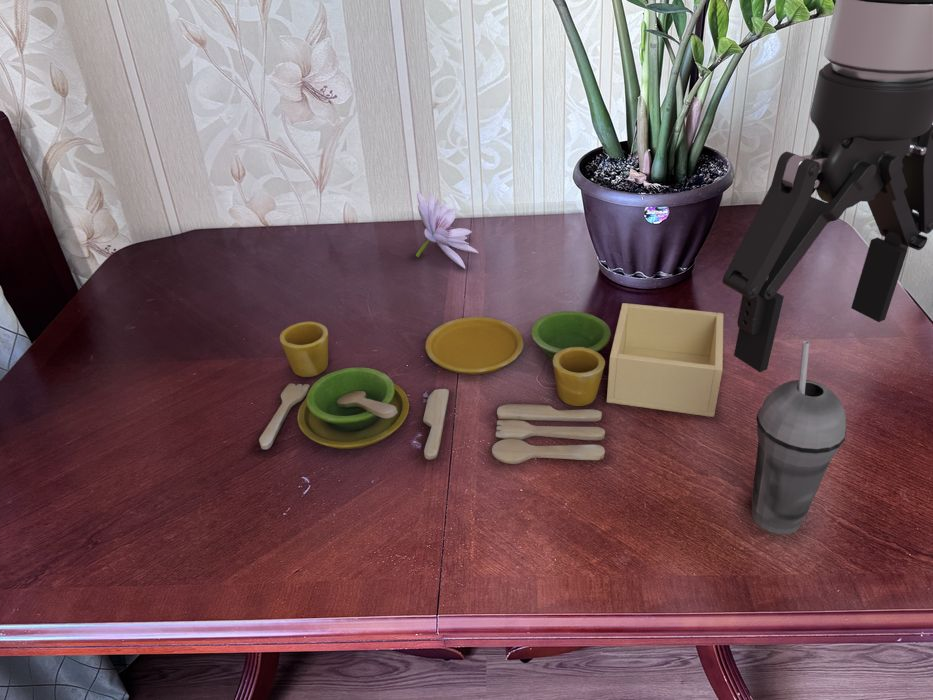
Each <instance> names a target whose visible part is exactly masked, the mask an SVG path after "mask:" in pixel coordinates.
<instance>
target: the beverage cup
mask: <svg viewBox="0 0 933 700" xmlns="http://www.w3.org/2000/svg"><path fill="white" fill-rule="evenodd" d="M809 353H810V341H809V340H804V341H802V344H801V357H800V364H799V365H800V366H799V376H798V379H795V380H791V381H786V382H784V383H782V384H779V385H778V386H777V387H775V388H774V389H773V390H772V391H771V392H770V393H768V395H766V397H765V398H764V400H763V402H762V404H761V407H760V408H759V409H758V411H757V415H756V417H755V419H756V432H757V433H756V435H757V440H758V441H757V447H756V457H755V466H754V474H753V484H752V492H751V493H752V494H751V511H750V514H751V518H752V519H753V521H754V522H755V523H756V525H758V527H760V528H761V529H763V530H765V531H767V532H769V533H772V534H775V535H791V534H793V533H795V532H797V531H798V530H799V529H800V527H801V526H802V523H803V521H804V520H805V518H806V517H807V514H808V512H809V510H810V508H811V506H812V503H813V501H814V499H815V496H816V494H817V492H818V489H819V487H820V486H821V483H822V481H823V478H824V476H825V474H826V472H827V469H828V467H829V466H830V464H831V460H832V459H833V458H834V457H835V456H836V454H837V452H838V451H839V449H840V448H841V446H842V445H843V444H844V442H845V441H846V437H847V428H846V427H847V415H846V411H845V409H844V406H843V404H842V401H841V400H840V398H839V397H838V396H837V394H836V393H835V392H834V391H833V390H831V389H830V388H828V387H827V386H826V385H824V384H822V383H820V382H817V381H814V380H810V379H807V374H808V373H807V371H808V362H809Z"/></svg>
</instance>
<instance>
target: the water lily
mask: <svg viewBox="0 0 933 700" xmlns="http://www.w3.org/2000/svg"><path fill="white" fill-rule="evenodd" d="M416 197H417V203H418V204H417V210H418V214H419V217H420V219H421V222H422V223H423V225H424V227H425V228H424V231H423V234H424V236H425V239H426V240H425V242H423V244H422V245H421V246H420V248H419V249H418V251H417V252H416V254H415V256H416V257H417V258H419V257H420V256H421V255H422V254H423V252H424V250H425V249H426V248H427V246H428V245H429V244H430V243H434V244H435V243H437V245H438V247H439V248H440V249H441V250H442V252H443V253H444V254H445V256H447V257H448V258H449V259H450V260H452V262H454V263H455V264H456V265H458V266H459V267H461V268H462V269H464V270H466V265H465V262H464V261H463V259H462V258H461V256H460V255H459V254H458V253H457V252H456V251H454V250H453V249H452V248H455V249H458V250H461V251H464V252H468V253H472V254H473V253H474V254H479V251H478V250H477V249H476V248H474V247H473V246H471V245H470V243H469V242H467V241H465V240H468V237H467V236H468V235H470V234H471V233H472V232H473V231H472V230H470V229H468V228H464V227H463V228H461V227H457V228H453V226H451V225H452V224H453V222H455V219H456V215H457V211H456V208H450V209H449V207H448V205H446V204H443V205H441V204H440V201H439V199H438V198H437V199H435V197H434V195H433V193H432V192H429V194H428V201H426V199H425V197H424V196H423V194H422V193H421V192H419V190H416ZM450 247H452V248H450Z"/></svg>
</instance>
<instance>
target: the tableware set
mask: <svg viewBox="0 0 933 700" xmlns="http://www.w3.org/2000/svg"><path fill="white" fill-rule="evenodd" d="M530 335H531V338H532V340H533V341H534V343H535V344H536V346H537V347H539V349H541V350H542V351H543V353H544V354H545V355H546V357H547V358H548V359H550V361H552V365H553V371H554V378H555V384H556V391H557V395H558V398H559V400H561V401H562V402H563V403H564V404H566V405H569V406H573V407H584V406H588V405H590V404H592V403H593V402H594V401H595V400H596V398H597V395H598V392H599V388H600V384H601V380H602V377H603V373H604V369H605V366H606V360H605V358H604V357H603V356H602V354H600V353H599V352H600V351H602V350H603V349H604V348H605V347H606V346H607V345H608V344H609V342H610V339H611V335H612V332H611V329H610V326H609V325H608V324H607V322H605V321H604V320H603V319H601V318H599V317H597V316H596V315H593V314H590V313H587V312H582V311H575V310H568V311H567V310H566V311H557V312H553V313H548V314H546V315H544V316H541V317H540V318H539V319H537V320H536V321H535V322H534V323H533V325H532V326H531V330H530ZM279 343H280V345H281V347H282V349H283V351H284V354H285V356H286V358H287V361H288V363H289V366H290V368H291V370H292V372H293V373H294V374H295V375H296V376H299V377H301V378H310V377H316V376H318V375H320V374H322V373H324V372H325V371H326V369H327V368H328V366H329V329H328V328H327V327H326V325H324V324H322V323H320V322H317V321H302V322H298V323H294V324H291V325H289V326H288V327H286V328H285V329H283V330H282V331H281V332H280V334H279ZM524 343H525V342H524V338H523V336H522V333H521V332H520V331H519V330H518V329H517V328H516V327H515V326H513V325H512V324H510V323H509V322H506V321H504V320H501V319H498V318H494V317H488V316H487V317H486V316H467V317H461V318H456V319H453V320H449V321H446V322H444V323H443V324H440V325H439V326H437V327H436V328H434V330H432V331H431V332H430V333H429V335H428V336H427V337H426V340H425V344H424V347H425V352H426V355H427V356H428V358H429V359H430V360H431V361H432V362H433V363H435V364H436V365H438V366H439V367H441V368H442V369H444V370H446V371H449V372H451V373H455V374H460V375H469V376H474V375H476V376H477V375H485V374H490V373H493V372H497V371H499V370H501V369H504V368H506V367H507V366H508V365H510V364H511V363H513V362H514V361H515V360H517V358H518V357H519V356H520V354H521V353H522V351H523V349H524ZM449 398H450V390H449V389H447V388H438V389H434V390H433V391H432V392H431V393H430V394H429V395H428V397H427V401H426V405H425V409H424V415H423V418H422V422H423V423H424V424H425V425H426V426H428V427H429V428H430V431H429V434H428V436H427V439H426V443H425V446H424V449H423V457H424V458H425V459H426V460H429V461H430V460H431V461H432V460H434V459H436V458H438V455H439V451H440V446H441V441H442V437H443V431H444V425H445V420H446V414H447V409H448V404H449ZM280 399H281V404H280V405H279V407H278V409H277V411H276V412H275V413H274V415H273V417H272V418H271V420H270V422H269V423H268V425H267V426H266V427H265V429H264V430H263V432H262V434H261V435H260V437H259V439H258V442H259V446H260V449H261V450H269V449H270V448H271V447H272V446H273V444H274V442H275V439H276V438H277V436H278V434H279V432H280V430H281V428H282V426H283V424H284V422H285V420H286V418H287V416H288V414H289V413H290V411H291V409H292V407H293V406H295V405H296V404H298V403H300V402H302V401H303V400H304V401H303V402H302V403H301V405H300V406H299V408H298V412H297V424H298V427H299V429H300V430H301V432H302V433H303V434H304V435H305V436H306V437H307V438H308V439H309V440H311V441H313V442H314V443H317V444H319V445H322V446H325V447H328V448H332V449H333V448H334V449H339V450H355V449H360V448H366V447H368V446H372V445H375V444H377V443H379V442H381V441H383V440H385V439H386V438H388V437H389V436H391V435H392V434H393V433H394V432H395V431H397V430H398V429H399V428H400V427H401V426H402V425H403V423H404V422H405V420H406V418H407V416H408V414H409V410H410V403H409V401H410V400H409V398H408V396H407V394H406V393H405V391H404V390H403V389H402V388H401V387H400V386H399V385H397V384H396V383H395V382H393V380H392V379H391V377H389V376H388V375H387V374H386V373H384V372H382V371H381V370H380V371H379V370H377V369H374V368H370V367H356V366H355V367H347V368H342V369H338V370H334V371H332V372H329V373H327V374H325V375H323V376H322V377H320V378H318V380H316V381H315V382H314V383H313V384H312V385H310V384H308V383H304V384H302V383H297V384H295V383H292V382H291V383H290V382H289V383H288V384H287V385H286V387H285V388H284V389H283V391H282V392H281V394H280ZM496 417H497V419H498V420H497V421H496V428H495V429H496V430H495V438H499V439H501V440H498V441H497V442H495V443H494V444H493V445H492V448H491V454H492V456H493V458H495V459H496V460H497V461H499V462H501V463H504V464H509V465H518V464H522V463H523V462H526V461H528V460H531V459H535V458H540V459H541V458H542V459H543V458H544V459H561V460H562V459H563V460H564V459H565V460H580V461H601V460H603V459H604V458H605V454H606V449H605V448H604V446H602V445H599V444H570V445H569V444H567V445H566V444H565V445H532V444H529V443H528V442H526V441H524V440H525V439H528V438H530V437H546V438H559V439H571V440H582V441H602V440H604V439H605V436H606V430H605V429H604V428H602V427H599V426H560V425H559V426H556V425H555V426H553V425H551V426H550V425H548V426H547V425H533V424H531V423H529V422H527V421H547V422H549V421H550V422H599V421H601V420H602V417H603V412H602V411H601V410H598V409H593V408H592V409H591V408H590V409H565V410H563V409H560V410H558V409H555V408H554V407H553V406H552V405H549V404H533V403H532V404H529V403H506V404H502V405H500V406H499V407H498V408H497V409H496Z"/></svg>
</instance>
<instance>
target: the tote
mask: <svg viewBox="0 0 933 700" xmlns="http://www.w3.org/2000/svg"><path fill="white" fill-rule="evenodd" d="M723 353H724V313H722V312H714V311H704V310H694V309H685V308H675V307H666V306H665V307H664V306H656V305H646V304H637V303H636V304H635V303H626V302H625V303H624V302H622V303H621V308H620V312H619V316H618V320H617V325H616V329H615V333H614V338H613V342H612V347H611V351H610V355H609V362H608V363H609V364H608V376H607V377H608V378H607V390H606V391H607V394H606V403H608V404H616V405H622V406H623V405H624V406H630V407H631V406H632V407H638V408H644V409H652V410H659V411H668V412H674V413H681V414H688V415H695V416H701V417H702V416H704V417H709V418H714V417H715V413H716V409H717V402H718V397H719V391H720V386H721V382H722V381H721V380H722V376H723V366H724V365H723V360H724V358H723V357H724V354H723Z"/></svg>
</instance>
